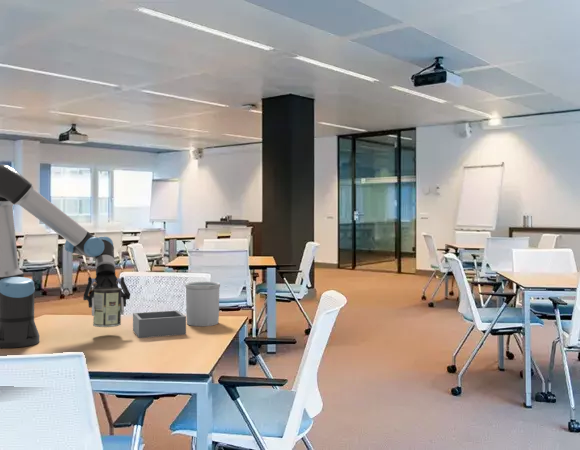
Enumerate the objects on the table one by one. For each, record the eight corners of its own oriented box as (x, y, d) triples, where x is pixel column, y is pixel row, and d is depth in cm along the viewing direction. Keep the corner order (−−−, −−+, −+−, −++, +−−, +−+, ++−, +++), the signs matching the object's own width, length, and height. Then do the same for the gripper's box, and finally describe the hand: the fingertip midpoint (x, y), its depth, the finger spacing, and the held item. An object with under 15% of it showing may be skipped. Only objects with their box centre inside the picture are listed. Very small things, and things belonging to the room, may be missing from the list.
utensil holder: (217, 326, 232) (217, 285, 232) (181, 326, 233) (182, 285, 232) (222, 320, 247) (222, 281, 247) (189, 320, 247) (189, 281, 247)
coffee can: (106, 321, 220) (107, 286, 220) (126, 324, 216) (127, 288, 216) (86, 325, 211) (87, 288, 211) (107, 328, 206) (108, 290, 207)
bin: (138, 338, 209) (139, 319, 209) (132, 330, 224) (132, 313, 224) (185, 334, 217) (186, 316, 217) (177, 327, 231) (177, 310, 231)
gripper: (132, 274, 232) (137, 317, 218) (75, 274, 223) (75, 320, 208) (135, 262, 227) (139, 306, 213) (76, 262, 218) (77, 308, 204)
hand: (108, 313), depth 211 cm, fingers closed on coffee can, 10 cm apart
